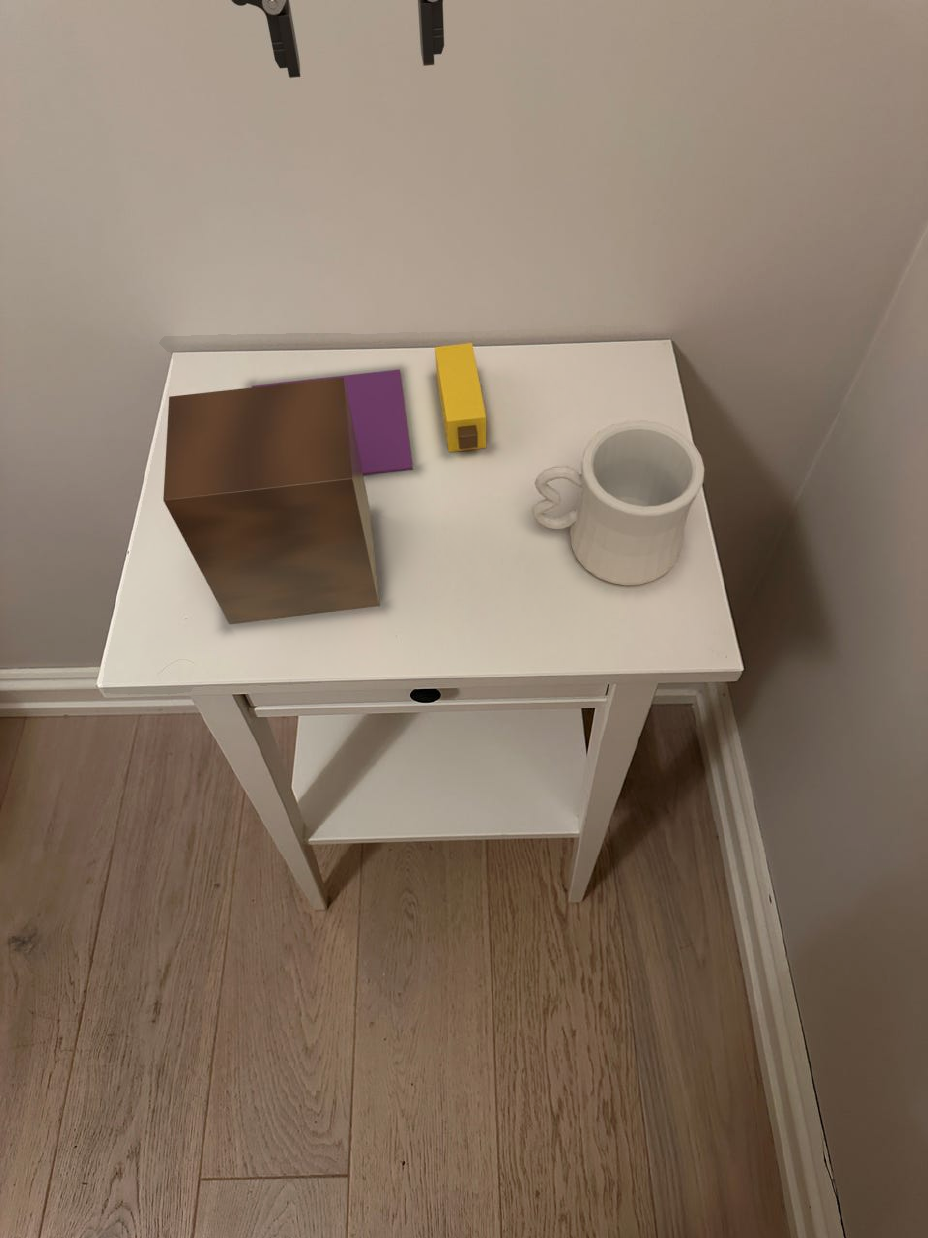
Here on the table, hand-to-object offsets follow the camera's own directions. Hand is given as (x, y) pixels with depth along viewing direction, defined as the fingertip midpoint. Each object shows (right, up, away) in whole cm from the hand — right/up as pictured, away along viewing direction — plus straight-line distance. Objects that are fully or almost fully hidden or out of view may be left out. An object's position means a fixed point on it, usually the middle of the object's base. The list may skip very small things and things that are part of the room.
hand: (361, 65), depth 55 cm
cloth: (-6, -18, +23) cm, 30 cm away
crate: (-7, -31, +16) cm, 36 cm away
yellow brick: (+6, -17, +24) cm, 30 cm away
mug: (+18, -29, +16) cm, 38 cm away
